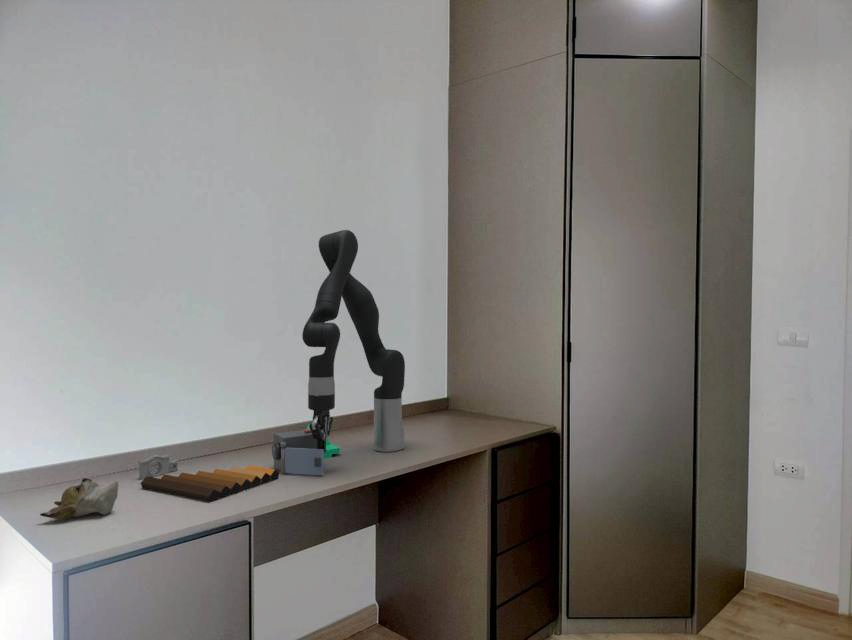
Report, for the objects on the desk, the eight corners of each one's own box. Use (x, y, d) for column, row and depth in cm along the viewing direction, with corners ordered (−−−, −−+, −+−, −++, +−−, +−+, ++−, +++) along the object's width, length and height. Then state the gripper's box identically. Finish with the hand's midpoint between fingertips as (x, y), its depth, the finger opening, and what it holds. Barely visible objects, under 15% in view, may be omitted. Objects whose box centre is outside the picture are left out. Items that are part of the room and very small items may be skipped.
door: (323, 473, 178) (323, 449, 178) (321, 475, 176) (321, 450, 176) (282, 471, 180) (282, 447, 180) (279, 473, 179) (279, 448, 179)
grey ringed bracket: (175, 469, 185) (174, 449, 185) (179, 470, 184) (178, 450, 184) (137, 479, 175) (137, 458, 175) (141, 480, 174) (141, 458, 174)
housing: (311, 461, 194) (311, 426, 194) (325, 468, 186) (324, 431, 186) (269, 467, 187) (269, 431, 187) (281, 475, 179) (281, 436, 179)
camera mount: (308, 461, 195) (308, 428, 195) (296, 457, 201) (296, 425, 200) (341, 455, 203) (341, 423, 203) (328, 451, 209) (328, 420, 208)
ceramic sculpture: (111, 480, 141) (36, 489, 137) (114, 519, 141) (39, 528, 138) (122, 469, 151) (53, 476, 148) (125, 505, 152) (56, 513, 148)
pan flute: (140, 490, 165) (208, 505, 153) (140, 477, 165) (208, 491, 153) (214, 469, 187) (279, 480, 175) (214, 457, 187) (279, 468, 175)
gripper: (317, 389, 189) (317, 447, 189) (300, 395, 176) (300, 457, 176) (341, 389, 187) (341, 448, 187) (325, 395, 174) (325, 458, 174)
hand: (321, 452), depth 182 cm, fingers closed
